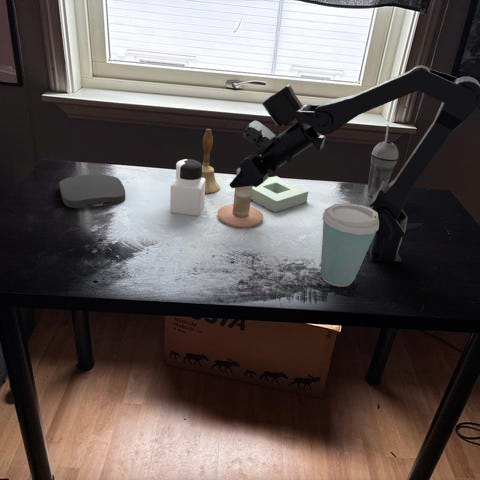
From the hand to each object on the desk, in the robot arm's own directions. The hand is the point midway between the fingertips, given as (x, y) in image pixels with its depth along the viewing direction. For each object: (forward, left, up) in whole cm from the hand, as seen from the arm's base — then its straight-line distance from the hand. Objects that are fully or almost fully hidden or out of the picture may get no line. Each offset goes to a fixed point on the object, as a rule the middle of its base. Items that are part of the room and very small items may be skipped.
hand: (238, 179), depth 110 cm
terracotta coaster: (-1, -1, -9) cm, 9 cm away
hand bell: (+15, +9, -10) cm, 20 cm away
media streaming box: (+4, +36, -10) cm, 37 cm away
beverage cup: (+21, -39, -10) cm, 46 cm away
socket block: (+12, -10, -9) cm, 19 cm away
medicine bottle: (+1, +12, -10) cm, 15 cm away
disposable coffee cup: (-24, -21, -10) cm, 33 cm away
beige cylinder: (-1, -1, -8) cm, 9 cm away
